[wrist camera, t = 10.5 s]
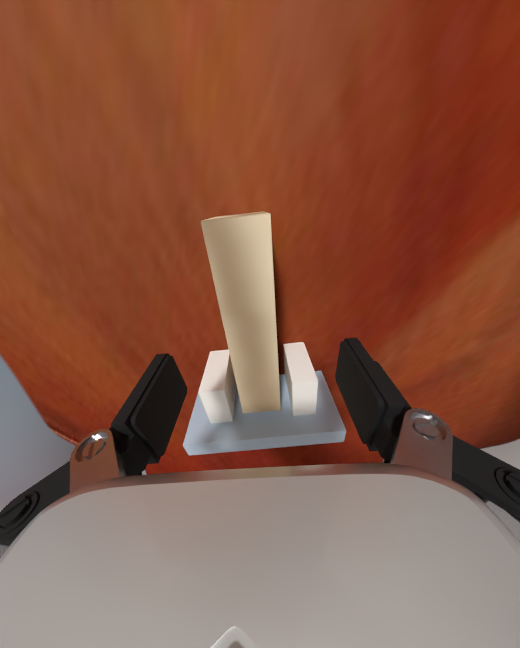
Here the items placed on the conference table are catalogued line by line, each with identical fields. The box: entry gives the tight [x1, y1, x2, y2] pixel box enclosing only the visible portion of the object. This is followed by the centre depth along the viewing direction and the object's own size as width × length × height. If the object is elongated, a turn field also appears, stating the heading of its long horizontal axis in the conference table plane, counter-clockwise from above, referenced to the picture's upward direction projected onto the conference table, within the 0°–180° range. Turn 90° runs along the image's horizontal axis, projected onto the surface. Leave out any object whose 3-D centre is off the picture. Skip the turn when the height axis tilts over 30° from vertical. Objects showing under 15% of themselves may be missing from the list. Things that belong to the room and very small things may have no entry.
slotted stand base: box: [183, 342, 346, 455], centre depth 21 cm, size 7×16×8 cm, turn 96°
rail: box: [201, 212, 281, 413], centre depth 18 cm, size 4×18×6 cm, turn 5°
